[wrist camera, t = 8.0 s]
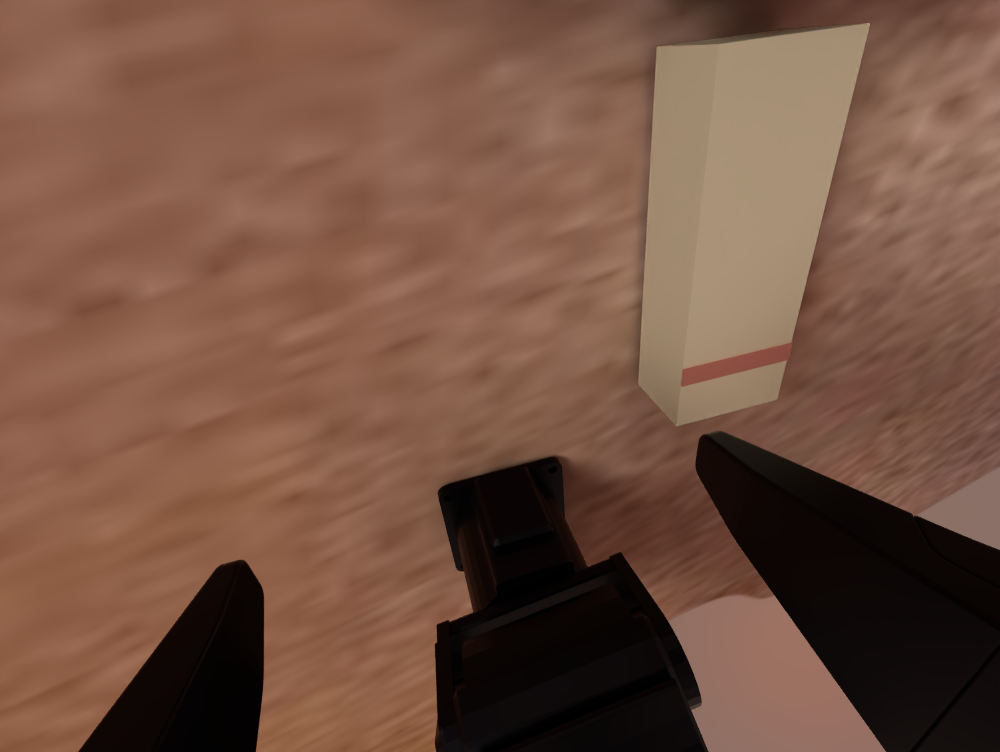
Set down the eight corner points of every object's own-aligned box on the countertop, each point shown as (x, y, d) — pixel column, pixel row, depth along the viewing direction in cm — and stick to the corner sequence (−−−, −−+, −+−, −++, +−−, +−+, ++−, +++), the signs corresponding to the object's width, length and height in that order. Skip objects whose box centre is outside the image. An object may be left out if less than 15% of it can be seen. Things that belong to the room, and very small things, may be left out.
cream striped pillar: (728, 361, 26) (778, 401, 23) (638, 384, 25) (677, 428, 22) (786, 28, 18) (873, 22, 15) (656, 46, 17) (721, 43, 14)
